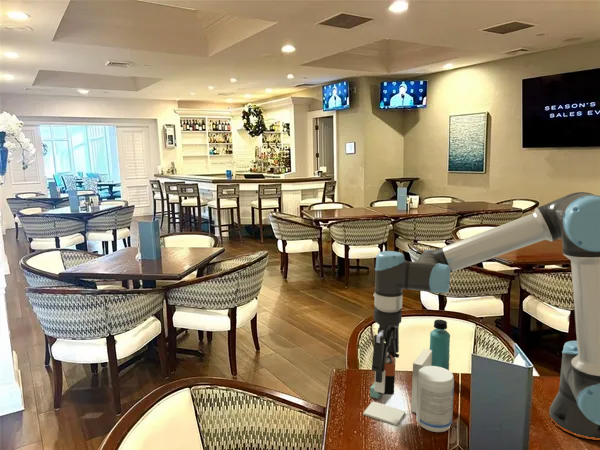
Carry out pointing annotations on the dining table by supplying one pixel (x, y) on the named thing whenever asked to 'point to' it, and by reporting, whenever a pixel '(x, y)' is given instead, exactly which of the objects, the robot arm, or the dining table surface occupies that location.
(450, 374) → the supplement tub
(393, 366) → the battery
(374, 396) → the block
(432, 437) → the dining table surface
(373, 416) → the mat
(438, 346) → the beverage bottle
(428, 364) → the white u-shaped bracket
